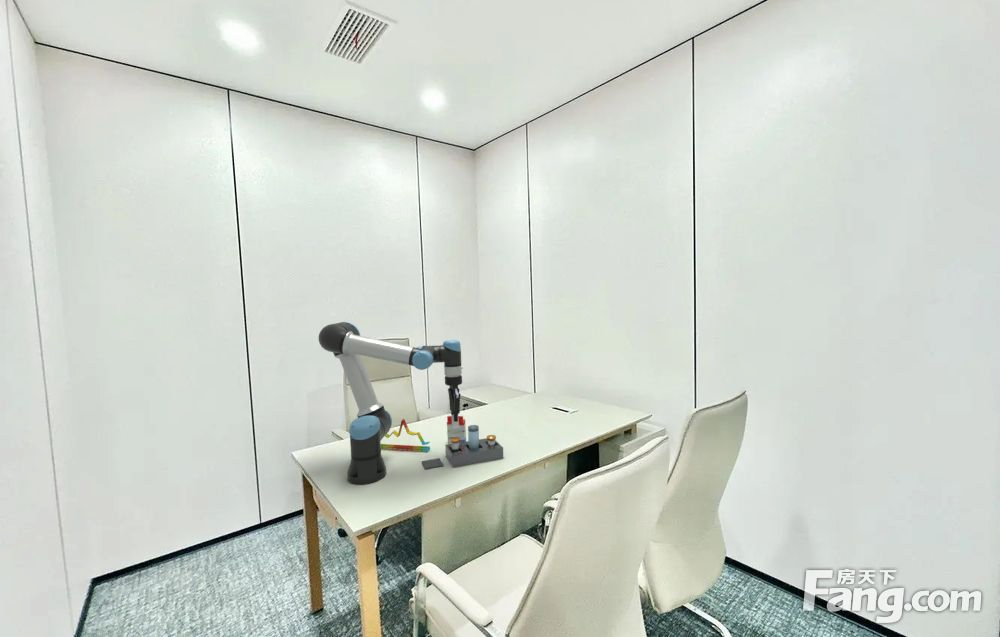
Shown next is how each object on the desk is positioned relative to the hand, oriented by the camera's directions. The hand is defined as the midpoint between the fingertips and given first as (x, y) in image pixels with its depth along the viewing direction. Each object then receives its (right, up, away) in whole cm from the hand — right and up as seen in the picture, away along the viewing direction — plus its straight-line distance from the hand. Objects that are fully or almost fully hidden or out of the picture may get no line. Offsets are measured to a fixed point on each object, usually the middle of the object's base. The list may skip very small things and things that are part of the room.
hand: (455, 427), depth 173 cm
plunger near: (0, -12, +1) cm, 12 cm away
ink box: (-2, -14, +20) cm, 25 cm away
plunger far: (+16, -13, +7) cm, 22 cm away
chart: (-29, -15, +15) cm, 36 cm away
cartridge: (+8, -14, +4) cm, 17 cm away
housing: (+8, -14, +4) cm, 17 cm away
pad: (-10, -15, -3) cm, 18 cm away
